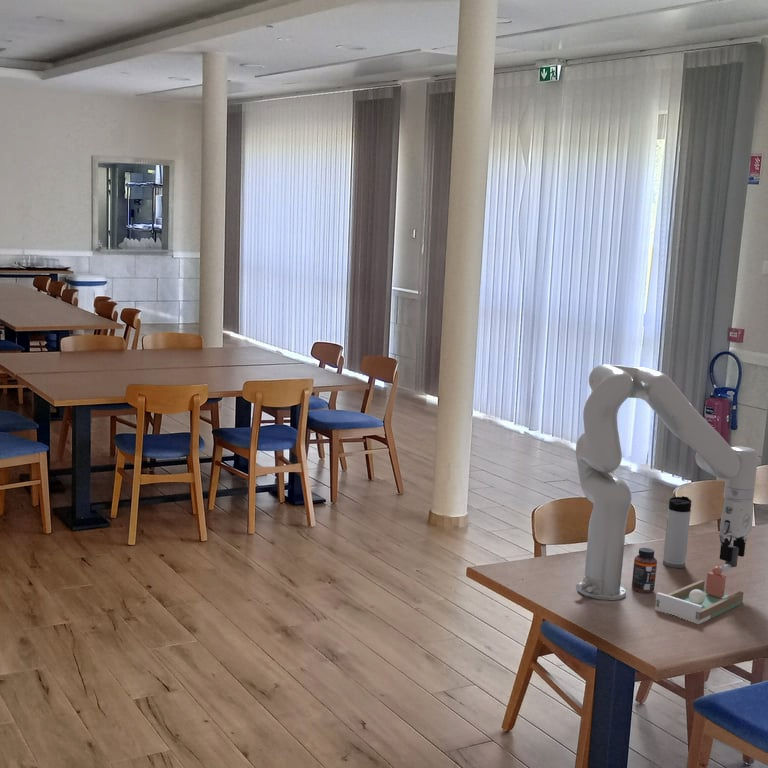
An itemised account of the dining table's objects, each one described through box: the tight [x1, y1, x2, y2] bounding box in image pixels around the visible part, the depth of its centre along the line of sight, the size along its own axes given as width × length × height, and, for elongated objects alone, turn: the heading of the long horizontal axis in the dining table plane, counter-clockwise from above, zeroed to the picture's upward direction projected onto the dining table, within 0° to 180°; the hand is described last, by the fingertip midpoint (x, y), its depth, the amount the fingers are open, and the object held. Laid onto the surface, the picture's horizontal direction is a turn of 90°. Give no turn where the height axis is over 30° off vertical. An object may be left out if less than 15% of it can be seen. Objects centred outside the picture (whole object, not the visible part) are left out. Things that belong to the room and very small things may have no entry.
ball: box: [689, 589, 705, 605], centre depth 264 cm, size 4×4×4 cm
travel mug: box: [662, 495, 692, 569], centre depth 299 cm, size 6×7×20 cm
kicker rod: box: [705, 545, 739, 598], centre depth 274 cm, size 11×4×12 cm, turn 136°
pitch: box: [654, 579, 744, 625], centre depth 266 cm, size 24×12×4 cm, turn 136°
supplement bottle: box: [631, 547, 658, 594], centre depth 275 cm, size 6×6×11 cm
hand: (731, 557), depth 276 cm, fingers open, 6 cm apart
